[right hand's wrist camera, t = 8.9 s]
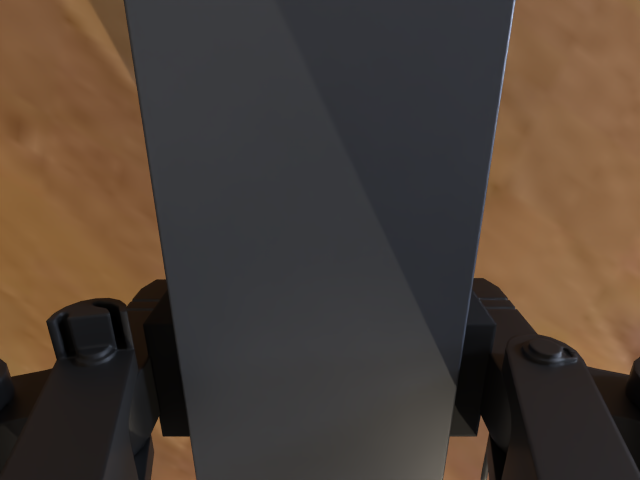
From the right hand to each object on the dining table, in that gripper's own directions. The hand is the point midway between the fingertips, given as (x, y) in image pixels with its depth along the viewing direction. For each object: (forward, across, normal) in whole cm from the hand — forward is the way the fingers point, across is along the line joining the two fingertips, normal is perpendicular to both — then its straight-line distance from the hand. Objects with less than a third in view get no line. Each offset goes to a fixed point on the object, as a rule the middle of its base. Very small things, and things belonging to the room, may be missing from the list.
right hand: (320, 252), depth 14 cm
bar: (0, 0, -24) cm, 25 cm away
